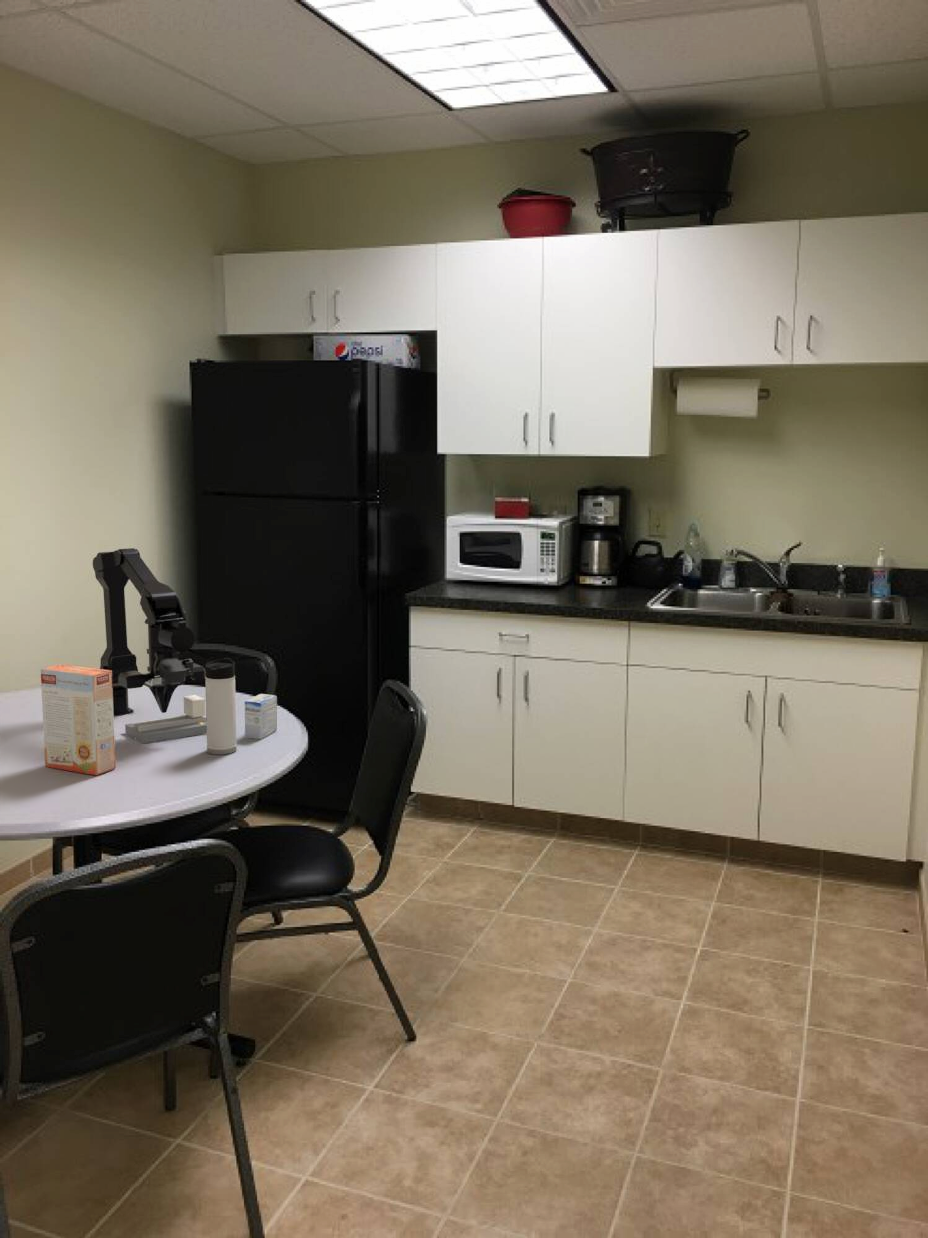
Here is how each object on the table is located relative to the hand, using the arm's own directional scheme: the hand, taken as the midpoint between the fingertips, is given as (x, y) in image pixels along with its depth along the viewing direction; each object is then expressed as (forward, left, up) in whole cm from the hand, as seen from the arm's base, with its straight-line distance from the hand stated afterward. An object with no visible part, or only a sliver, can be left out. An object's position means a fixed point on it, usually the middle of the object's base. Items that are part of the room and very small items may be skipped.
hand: (163, 712), depth 245 cm
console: (0, +1, -5) cm, 5 cm away
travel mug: (+20, +5, -5) cm, 21 cm away
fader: (0, +7, -3) cm, 8 cm away
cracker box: (+15, -24, -5) cm, 29 cm away
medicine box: (+13, +18, -5) cm, 23 cm away
